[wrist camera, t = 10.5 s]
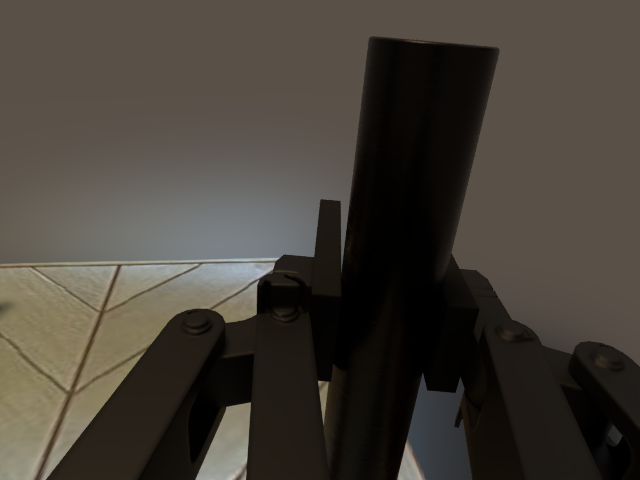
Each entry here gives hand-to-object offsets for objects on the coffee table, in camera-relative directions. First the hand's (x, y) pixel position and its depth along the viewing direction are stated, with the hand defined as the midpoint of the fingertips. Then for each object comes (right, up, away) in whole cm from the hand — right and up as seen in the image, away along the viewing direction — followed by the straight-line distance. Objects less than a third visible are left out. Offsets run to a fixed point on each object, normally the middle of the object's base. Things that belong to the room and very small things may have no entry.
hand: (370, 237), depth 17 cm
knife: (-1, -17, +2) cm, 17 cm away
